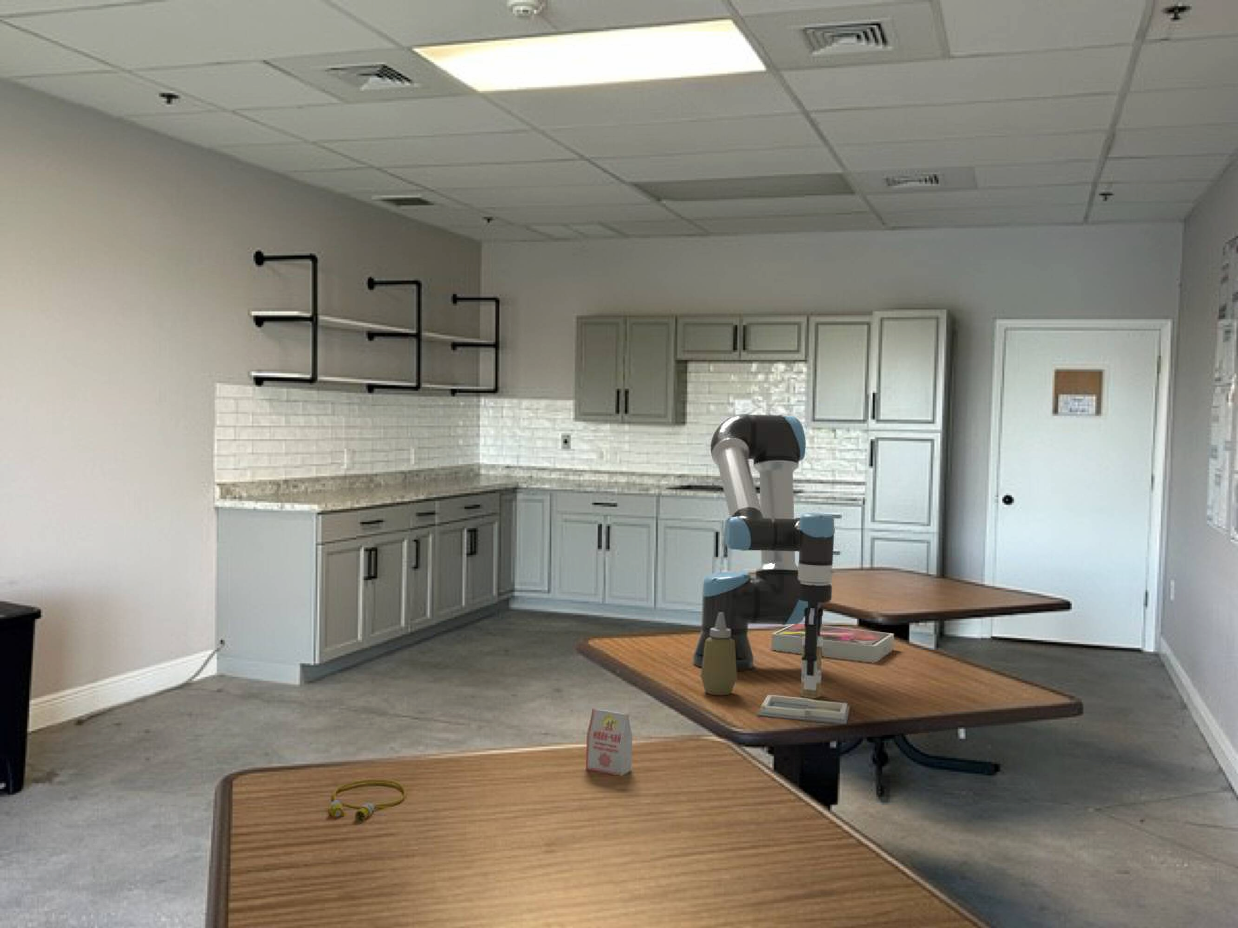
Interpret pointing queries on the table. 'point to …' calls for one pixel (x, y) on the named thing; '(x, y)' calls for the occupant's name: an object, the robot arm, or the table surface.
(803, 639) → the sprinkles bottle
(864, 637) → the product packaging
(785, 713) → the keyhole track
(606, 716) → the white paper bag
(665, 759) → the table surface
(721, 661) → the squeeze bottle
